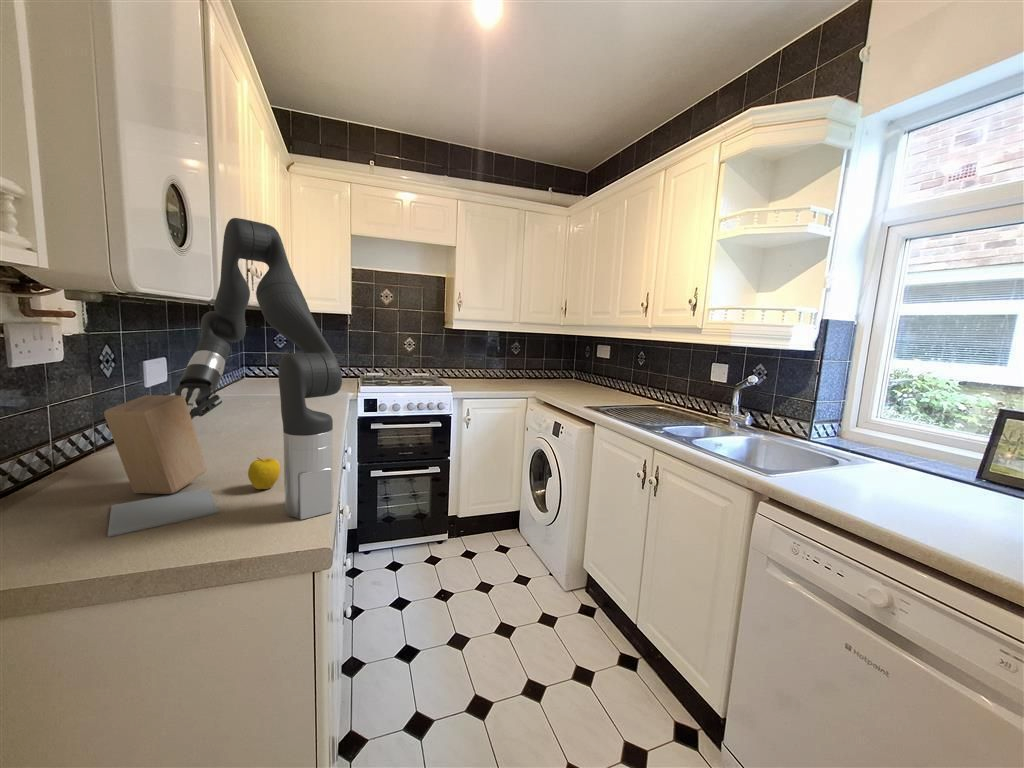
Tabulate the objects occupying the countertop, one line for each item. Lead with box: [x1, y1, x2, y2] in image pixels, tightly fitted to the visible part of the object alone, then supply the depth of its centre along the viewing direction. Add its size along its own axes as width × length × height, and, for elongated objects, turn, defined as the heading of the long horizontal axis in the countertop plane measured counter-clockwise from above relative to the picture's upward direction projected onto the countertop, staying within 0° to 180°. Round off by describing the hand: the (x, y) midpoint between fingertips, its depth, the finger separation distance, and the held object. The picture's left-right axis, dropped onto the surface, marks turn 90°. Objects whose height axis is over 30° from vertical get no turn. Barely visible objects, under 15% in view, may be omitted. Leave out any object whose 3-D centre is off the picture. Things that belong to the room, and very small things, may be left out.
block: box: [103, 394, 208, 495], centre depth 90 cm, size 10×10×20 cm
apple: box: [247, 456, 281, 490], centre depth 95 cm, size 6×6×8 cm
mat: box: [107, 487, 219, 538], centre depth 83 cm, size 15×16×1 cm
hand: (179, 429), depth 95 cm, fingers closed
